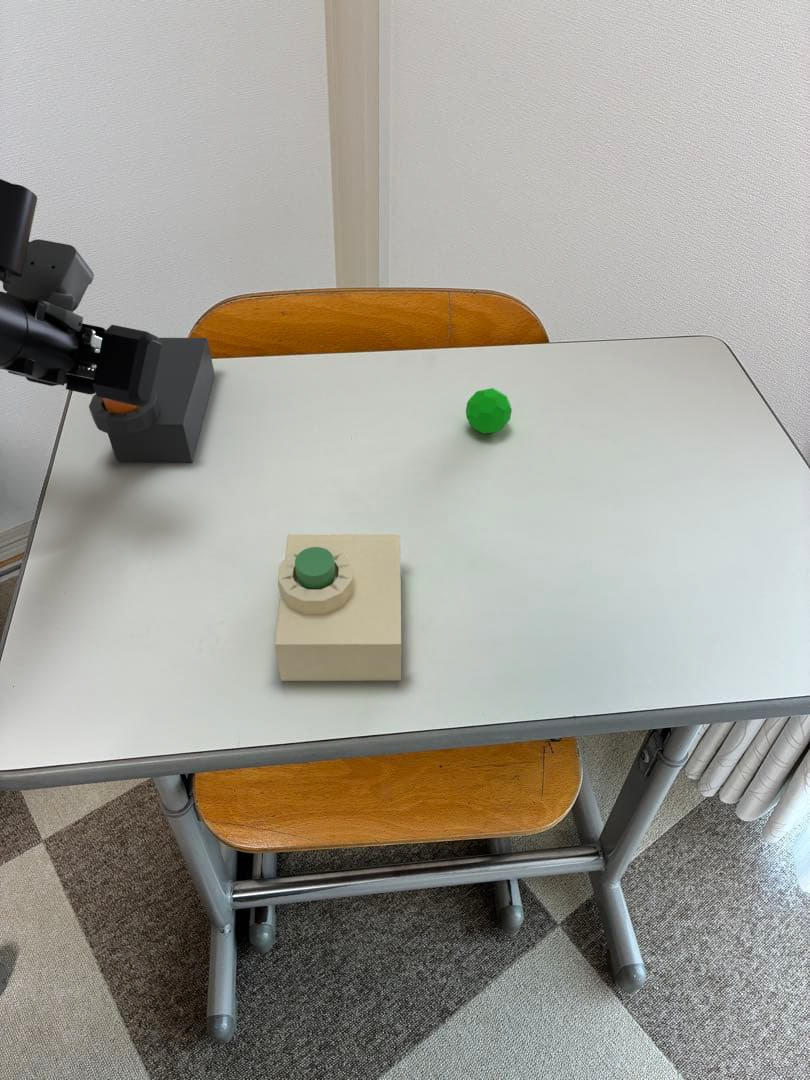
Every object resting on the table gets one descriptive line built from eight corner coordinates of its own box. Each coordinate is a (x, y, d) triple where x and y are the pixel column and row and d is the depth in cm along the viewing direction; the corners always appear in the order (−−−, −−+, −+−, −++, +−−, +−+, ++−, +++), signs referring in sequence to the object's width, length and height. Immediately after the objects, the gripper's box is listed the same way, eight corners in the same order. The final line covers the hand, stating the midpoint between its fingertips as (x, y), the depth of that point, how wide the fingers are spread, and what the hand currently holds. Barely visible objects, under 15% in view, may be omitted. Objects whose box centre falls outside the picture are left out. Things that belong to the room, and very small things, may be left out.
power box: (280, 681, 66) (271, 630, 61) (292, 572, 75) (285, 519, 70) (400, 680, 67) (401, 630, 61) (399, 572, 75) (400, 519, 70)
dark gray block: (101, 473, 84) (82, 420, 79) (137, 374, 96) (123, 323, 91) (189, 473, 84) (176, 421, 79) (214, 375, 96) (205, 323, 91)
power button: (295, 590, 65) (293, 576, 63) (298, 560, 67) (296, 546, 66) (334, 589, 65) (333, 575, 63) (336, 560, 67) (335, 546, 66)
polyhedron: (475, 446, 87) (478, 411, 84) (457, 419, 91) (460, 385, 87) (516, 436, 89) (521, 401, 85) (497, 410, 92) (501, 376, 88)
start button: (101, 415, 80) (97, 401, 79) (110, 393, 82) (106, 379, 81) (137, 415, 80) (133, 401, 79) (145, 393, 82) (141, 379, 81)
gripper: (122, 246, 60) (214, 305, 75) (-83, 209, 64) (44, 273, 79) (91, 391, 61) (188, 421, 76) (-110, 346, 64) (21, 383, 80)
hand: (109, 370), depth 78 cm, fingers closed
